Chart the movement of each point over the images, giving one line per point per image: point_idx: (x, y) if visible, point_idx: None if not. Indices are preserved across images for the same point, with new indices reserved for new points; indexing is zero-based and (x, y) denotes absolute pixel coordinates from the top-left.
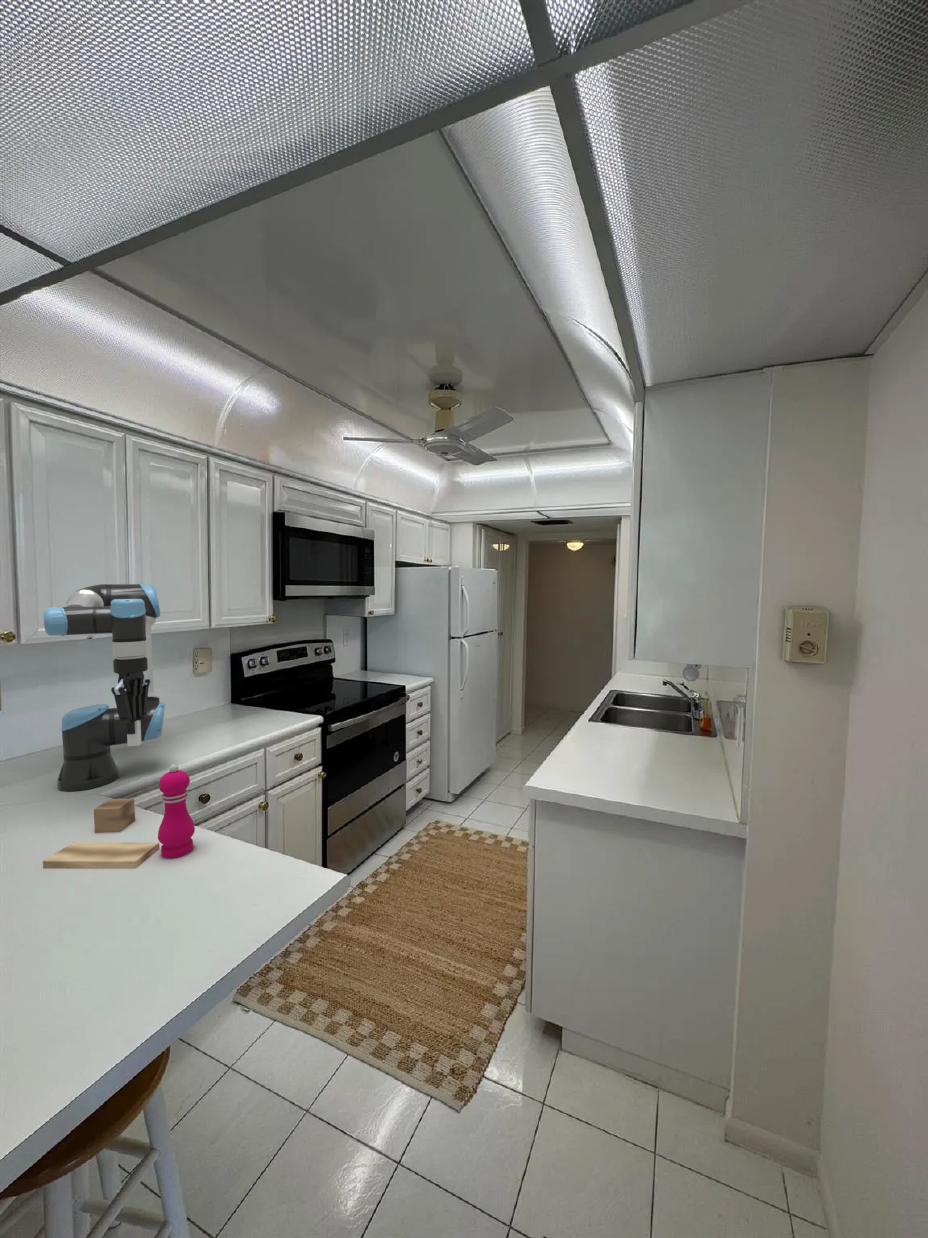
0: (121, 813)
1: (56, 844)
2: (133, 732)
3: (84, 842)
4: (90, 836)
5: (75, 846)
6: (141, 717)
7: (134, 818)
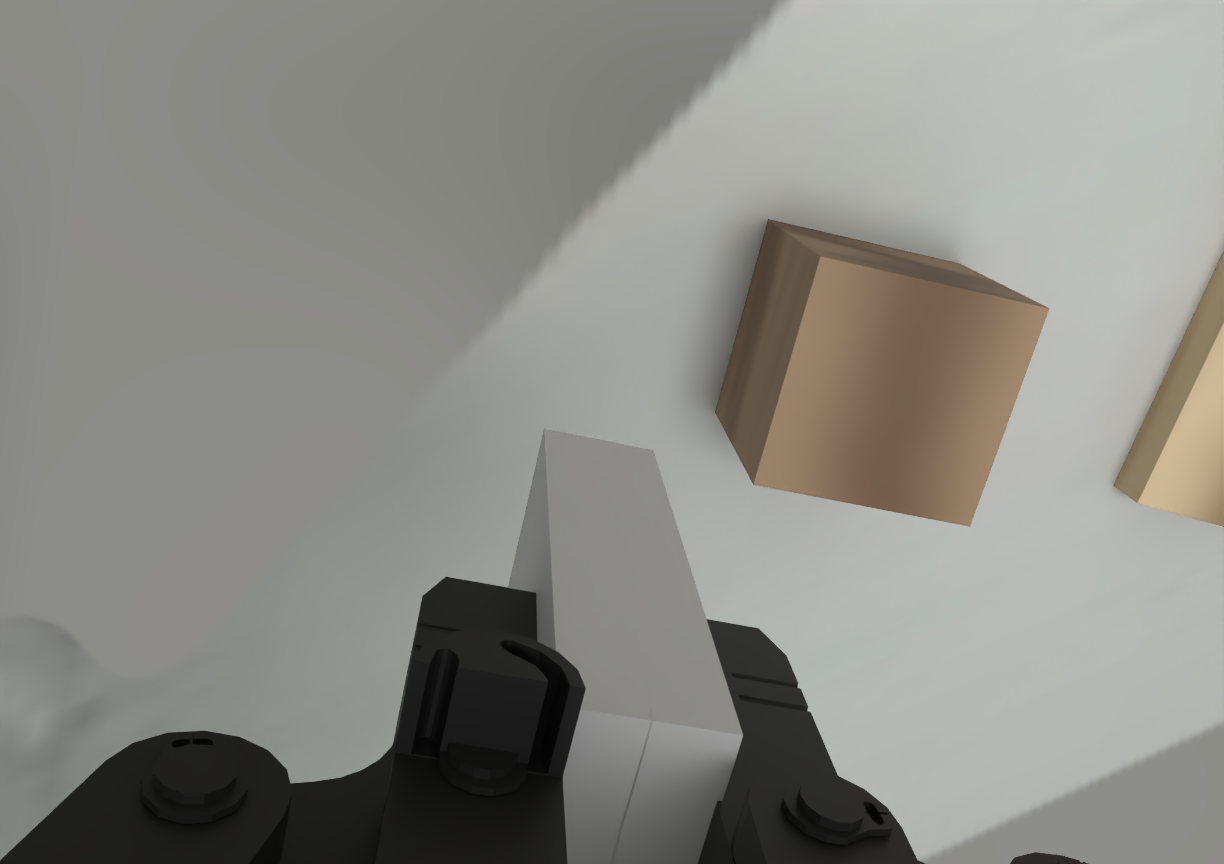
0: (994, 287)
1: (992, 621)
2: (740, 642)
3: (1174, 425)
4: None
5: (1217, 458)
6: (539, 732)
7: (783, 225)
